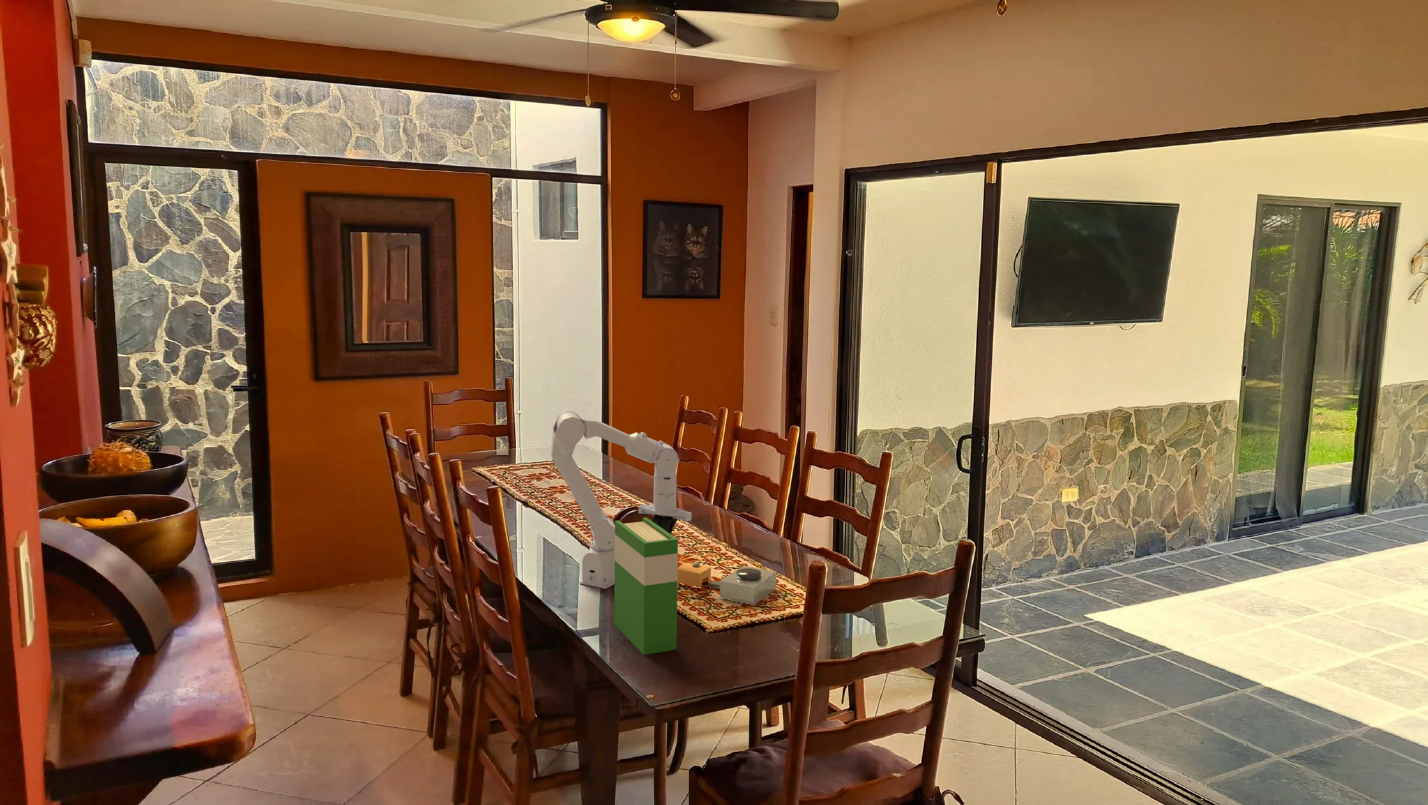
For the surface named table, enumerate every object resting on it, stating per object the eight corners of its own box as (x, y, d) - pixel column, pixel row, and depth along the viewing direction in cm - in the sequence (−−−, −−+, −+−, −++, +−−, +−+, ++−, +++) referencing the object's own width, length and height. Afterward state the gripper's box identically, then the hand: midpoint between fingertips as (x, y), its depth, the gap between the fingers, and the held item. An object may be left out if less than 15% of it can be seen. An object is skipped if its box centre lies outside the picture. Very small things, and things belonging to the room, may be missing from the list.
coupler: (753, 605, 229) (754, 583, 228) (697, 594, 236) (698, 572, 235) (775, 589, 240) (776, 568, 239) (722, 578, 247) (722, 558, 246)
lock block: (699, 589, 240) (699, 571, 239) (674, 584, 243) (675, 566, 242) (710, 582, 245) (711, 564, 244) (686, 577, 248) (686, 560, 247)
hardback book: (614, 624, 216) (614, 520, 212) (645, 620, 219) (646, 517, 215) (643, 655, 200) (644, 543, 196) (676, 649, 203) (678, 539, 199)
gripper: (697, 492, 244) (696, 544, 246) (648, 485, 251) (648, 535, 253) (684, 498, 238) (683, 551, 240) (634, 491, 245) (633, 542, 247)
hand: (664, 544), depth 246 cm, fingers closed
